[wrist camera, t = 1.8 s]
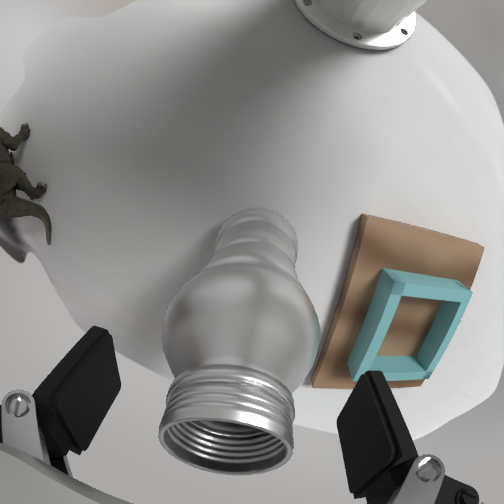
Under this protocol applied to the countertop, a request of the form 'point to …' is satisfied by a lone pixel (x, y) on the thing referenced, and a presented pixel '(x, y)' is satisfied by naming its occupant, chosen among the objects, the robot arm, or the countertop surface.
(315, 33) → the countertop surface
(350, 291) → the walnut jig board
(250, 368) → the silver aluminum bottle
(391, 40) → the robot arm
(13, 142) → the dinosaur figurine
